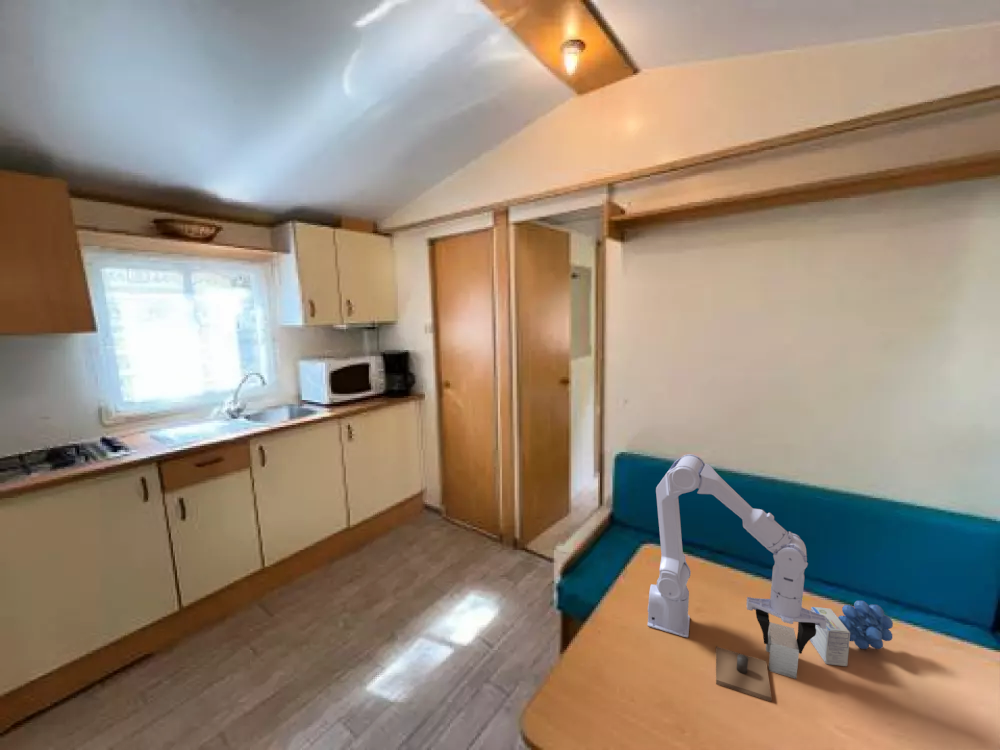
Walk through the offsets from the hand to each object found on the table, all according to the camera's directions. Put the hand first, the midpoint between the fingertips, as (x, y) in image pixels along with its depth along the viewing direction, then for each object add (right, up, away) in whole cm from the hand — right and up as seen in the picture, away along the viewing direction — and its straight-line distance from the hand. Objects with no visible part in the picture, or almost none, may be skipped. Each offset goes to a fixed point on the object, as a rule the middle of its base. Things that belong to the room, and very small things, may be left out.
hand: (781, 645), depth 95 cm
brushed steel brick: (0, -4, +1) cm, 4 cm away
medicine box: (+13, -4, +3) cm, 14 cm away
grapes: (+22, -4, +3) cm, 22 cm away
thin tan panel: (-10, -5, -2) cm, 12 cm away
